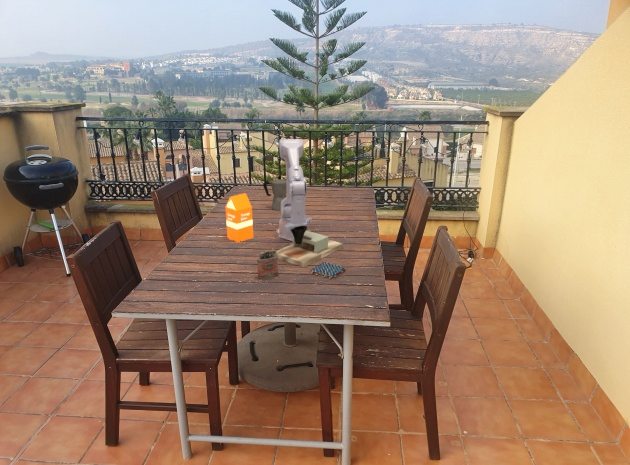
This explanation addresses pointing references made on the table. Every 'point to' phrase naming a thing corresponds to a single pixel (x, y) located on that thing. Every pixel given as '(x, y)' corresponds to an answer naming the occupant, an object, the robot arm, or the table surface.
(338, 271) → the woven mat
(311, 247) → the walnut block
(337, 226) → the table surface
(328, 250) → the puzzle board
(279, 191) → the coffeepot
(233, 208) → the orange juice
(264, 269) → the lighter
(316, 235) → the slide cover
